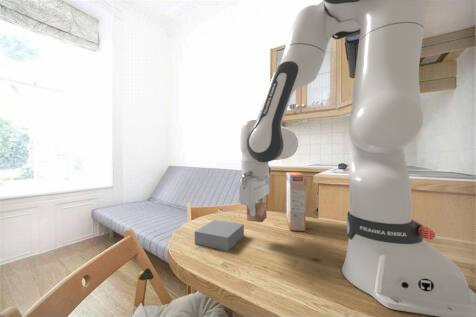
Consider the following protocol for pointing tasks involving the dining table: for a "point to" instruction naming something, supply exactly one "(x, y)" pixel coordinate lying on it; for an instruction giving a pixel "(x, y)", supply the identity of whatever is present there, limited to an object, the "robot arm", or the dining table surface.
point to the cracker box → (296, 201)
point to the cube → (260, 213)
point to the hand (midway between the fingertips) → (256, 212)
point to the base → (219, 234)
